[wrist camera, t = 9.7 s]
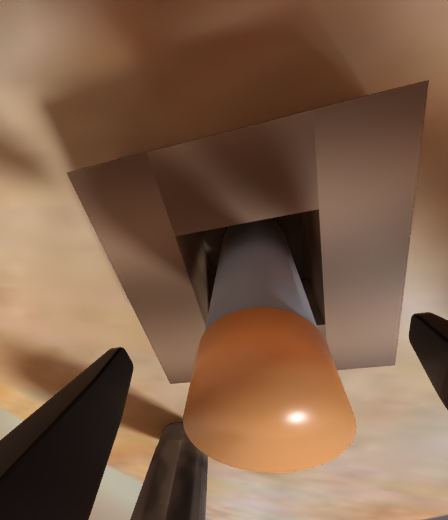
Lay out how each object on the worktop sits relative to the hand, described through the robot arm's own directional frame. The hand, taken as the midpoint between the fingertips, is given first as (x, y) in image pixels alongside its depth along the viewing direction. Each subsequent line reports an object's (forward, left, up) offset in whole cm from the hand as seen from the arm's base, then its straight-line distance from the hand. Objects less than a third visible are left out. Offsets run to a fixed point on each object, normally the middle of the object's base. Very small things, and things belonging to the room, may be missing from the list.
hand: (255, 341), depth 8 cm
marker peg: (0, 0, -7) cm, 7 cm away
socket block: (0, 0, -7) cm, 7 cm away
